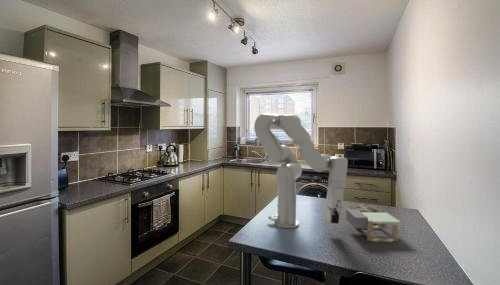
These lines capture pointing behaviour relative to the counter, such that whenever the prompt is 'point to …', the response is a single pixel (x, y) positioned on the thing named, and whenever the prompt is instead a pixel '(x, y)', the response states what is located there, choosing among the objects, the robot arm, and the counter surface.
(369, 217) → the trapdoor
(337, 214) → the robot arm
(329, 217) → the cube
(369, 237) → the frame
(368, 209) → the geode
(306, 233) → the counter surface
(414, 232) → the counter surface
